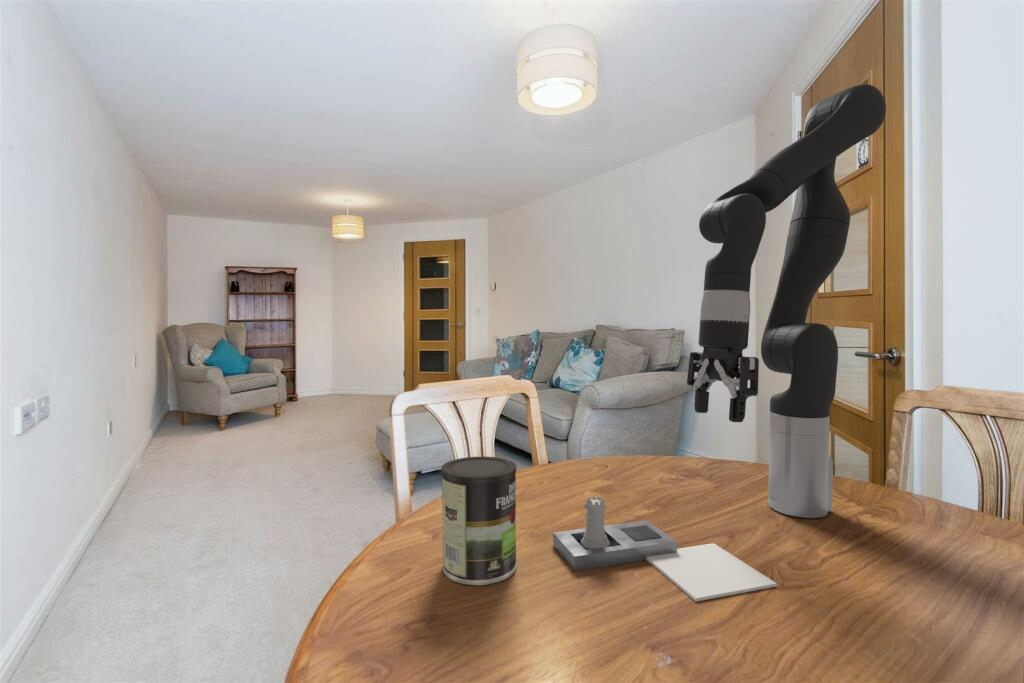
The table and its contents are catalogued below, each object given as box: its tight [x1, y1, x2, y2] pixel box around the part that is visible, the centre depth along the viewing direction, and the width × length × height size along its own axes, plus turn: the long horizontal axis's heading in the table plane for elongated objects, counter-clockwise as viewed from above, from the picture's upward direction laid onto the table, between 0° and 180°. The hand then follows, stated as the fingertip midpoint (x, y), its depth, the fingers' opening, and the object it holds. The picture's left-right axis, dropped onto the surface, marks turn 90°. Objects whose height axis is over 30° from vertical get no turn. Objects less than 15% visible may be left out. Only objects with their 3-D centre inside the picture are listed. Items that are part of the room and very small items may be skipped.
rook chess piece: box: [580, 495, 610, 550], centre depth 73 cm, size 4×4×8 cm
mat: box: [645, 542, 778, 603], centre depth 67 cm, size 12×12×1 cm
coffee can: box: [440, 456, 517, 586], centre depth 69 cm, size 10×10×14 cm
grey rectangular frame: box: [552, 519, 678, 572], centre depth 73 cm, size 16×8×2 cm, turn 106°
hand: (717, 416), depth 83 cm, fingers open, 8 cm apart
